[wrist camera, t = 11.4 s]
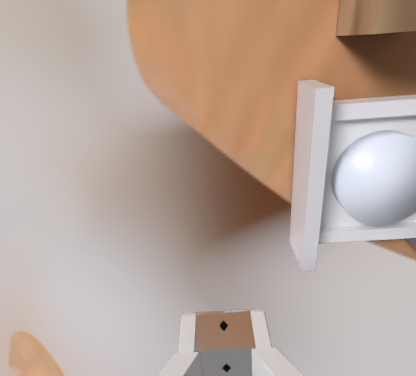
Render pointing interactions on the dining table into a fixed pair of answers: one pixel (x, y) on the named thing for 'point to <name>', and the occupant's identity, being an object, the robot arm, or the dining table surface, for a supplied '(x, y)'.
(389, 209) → the white flat dome
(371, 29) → the block
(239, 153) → the dining table surface
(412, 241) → the block
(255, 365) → the robot arm
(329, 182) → the drawer
